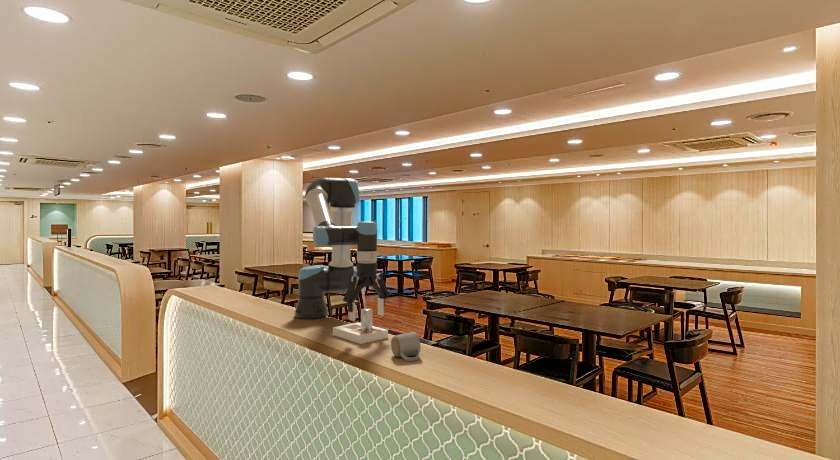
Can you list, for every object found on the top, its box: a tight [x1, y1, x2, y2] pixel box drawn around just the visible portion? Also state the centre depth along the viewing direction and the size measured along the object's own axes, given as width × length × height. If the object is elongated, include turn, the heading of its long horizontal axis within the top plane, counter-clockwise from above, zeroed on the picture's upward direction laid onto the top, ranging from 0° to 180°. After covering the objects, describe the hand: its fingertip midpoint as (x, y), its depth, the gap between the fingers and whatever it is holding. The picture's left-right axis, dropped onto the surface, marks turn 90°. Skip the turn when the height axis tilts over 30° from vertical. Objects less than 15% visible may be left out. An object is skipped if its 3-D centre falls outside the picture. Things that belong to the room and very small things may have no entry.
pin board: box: [332, 321, 389, 345], centre depth 179 cm, size 18×13×3 cm
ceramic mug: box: [390, 331, 421, 362], centre depth 152 cm, size 11×8×8 cm
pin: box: [360, 308, 374, 333], centre depth 176 cm, size 4×4×11 cm
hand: (366, 317), depth 176 cm, fingers open, 13 cm apart
